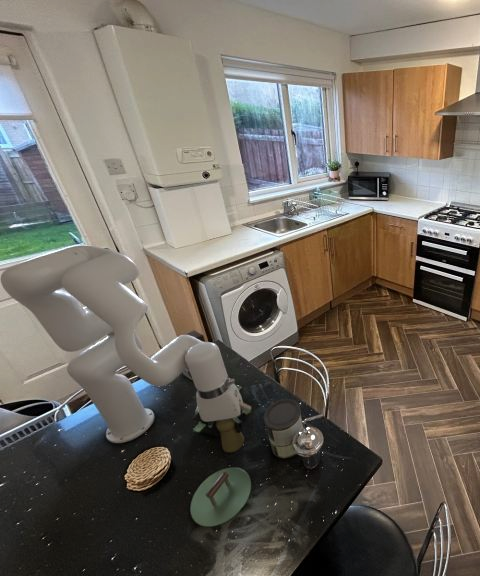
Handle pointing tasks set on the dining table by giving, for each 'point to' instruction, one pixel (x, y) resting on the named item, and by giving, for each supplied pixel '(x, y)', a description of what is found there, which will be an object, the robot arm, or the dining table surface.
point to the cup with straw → (308, 443)
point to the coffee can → (283, 426)
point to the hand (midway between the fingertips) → (229, 430)
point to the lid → (220, 497)
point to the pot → (204, 427)
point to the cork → (229, 435)
